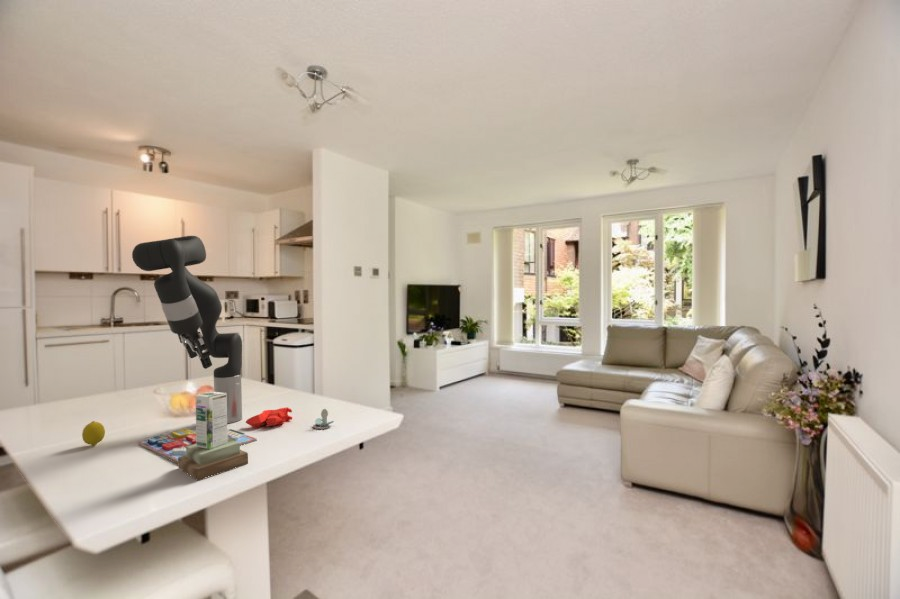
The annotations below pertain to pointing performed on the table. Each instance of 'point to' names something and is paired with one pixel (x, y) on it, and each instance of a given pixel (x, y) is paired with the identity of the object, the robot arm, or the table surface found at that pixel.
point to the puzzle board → (185, 442)
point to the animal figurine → (270, 417)
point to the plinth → (211, 466)
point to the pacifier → (324, 423)
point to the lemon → (93, 433)
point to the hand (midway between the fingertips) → (201, 361)
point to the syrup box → (211, 419)
